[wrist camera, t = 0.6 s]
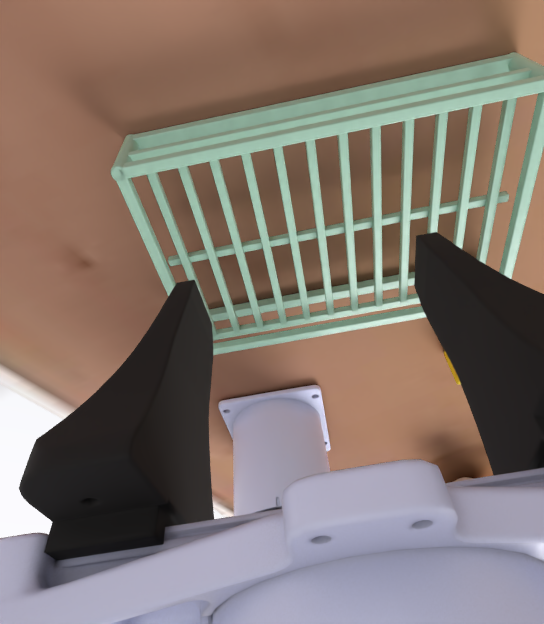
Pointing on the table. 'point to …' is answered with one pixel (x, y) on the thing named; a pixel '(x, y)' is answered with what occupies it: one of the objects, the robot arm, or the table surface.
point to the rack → (340, 121)
